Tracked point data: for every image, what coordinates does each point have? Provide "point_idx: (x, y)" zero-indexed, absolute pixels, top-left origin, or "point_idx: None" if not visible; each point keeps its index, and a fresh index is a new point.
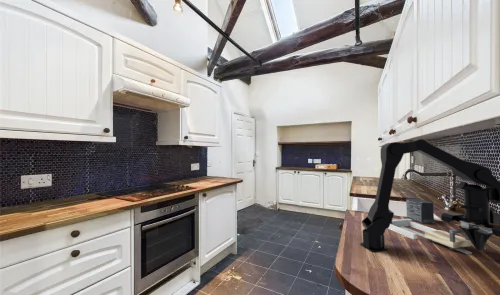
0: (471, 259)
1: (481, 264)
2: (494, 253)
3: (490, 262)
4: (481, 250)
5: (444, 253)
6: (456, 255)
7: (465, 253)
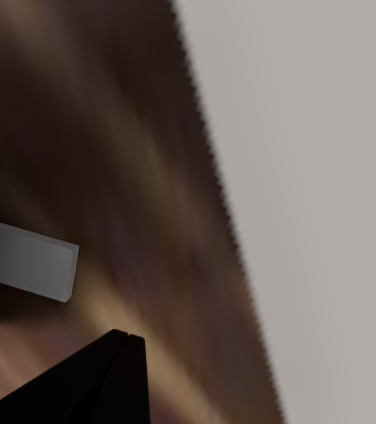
0: None
1: (207, 418)
2: (167, 2)
3: (229, 323)
4: (143, 348)
5: None
6: None
7: (57, 292)
